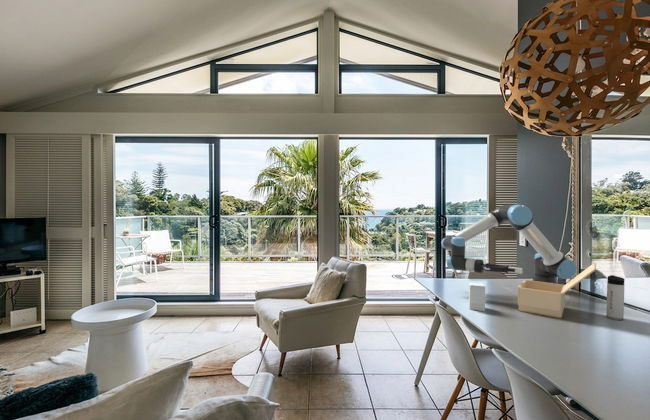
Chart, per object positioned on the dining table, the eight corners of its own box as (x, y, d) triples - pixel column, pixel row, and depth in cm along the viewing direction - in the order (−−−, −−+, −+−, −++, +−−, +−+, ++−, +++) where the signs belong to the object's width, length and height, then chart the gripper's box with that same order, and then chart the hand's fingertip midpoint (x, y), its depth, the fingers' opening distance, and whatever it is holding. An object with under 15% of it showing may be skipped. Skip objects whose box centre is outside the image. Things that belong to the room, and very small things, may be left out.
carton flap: (594, 262, 171) (595, 263, 171) (564, 285, 179) (565, 286, 179) (594, 268, 155) (596, 269, 155) (562, 293, 163) (563, 294, 162)
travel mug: (618, 316, 166) (619, 275, 166) (626, 321, 160) (627, 278, 159) (603, 315, 168) (604, 274, 167) (610, 319, 161) (611, 277, 161)
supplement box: (485, 311, 172) (485, 286, 172) (469, 309, 175) (469, 285, 174) (483, 307, 179) (484, 283, 179) (468, 305, 182) (468, 281, 181)
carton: (523, 300, 192) (524, 279, 191) (564, 307, 180) (564, 284, 180) (516, 310, 173) (517, 287, 173) (561, 318, 162) (562, 293, 162)
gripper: (477, 270, 202) (523, 276, 187) (471, 273, 191) (520, 280, 177) (478, 257, 201) (524, 262, 187) (472, 260, 191) (520, 265, 177)
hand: (522, 271), depth 182 cm, fingers closed
